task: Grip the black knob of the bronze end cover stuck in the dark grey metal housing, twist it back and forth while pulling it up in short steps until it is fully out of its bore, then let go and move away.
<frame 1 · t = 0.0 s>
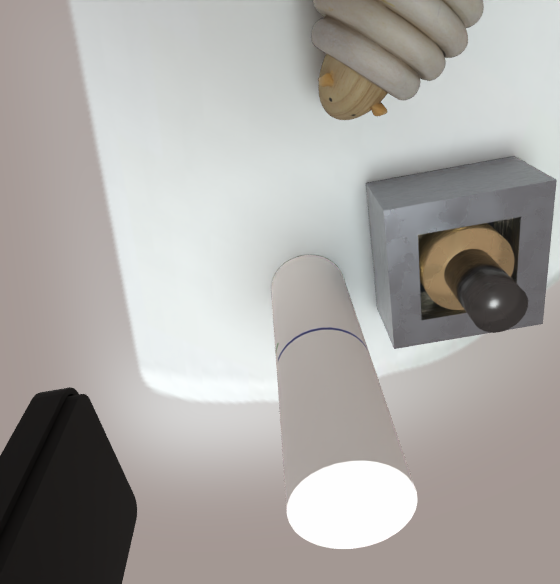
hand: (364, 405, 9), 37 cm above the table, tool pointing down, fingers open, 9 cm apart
cylindrical container: (307, 287, 50), on the table
end cover: (468, 271, 42), point 7 cm above the table, slide at 0.0 cm
toy sheep: (382, 3, 38), on the table
housing: (440, 237, 48), on the table
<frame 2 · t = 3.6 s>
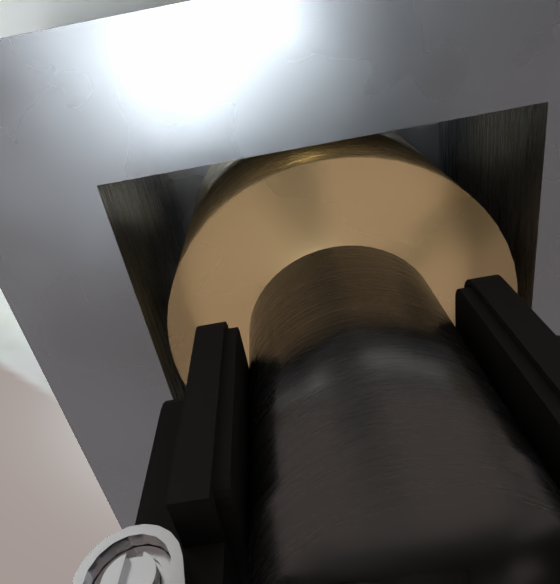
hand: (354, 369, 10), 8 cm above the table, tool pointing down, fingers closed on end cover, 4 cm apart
end cover: (343, 332, 11), point 7 cm above the table, slide at 0.0 cm, touching gripper
housing: (310, 215, 17), on the table
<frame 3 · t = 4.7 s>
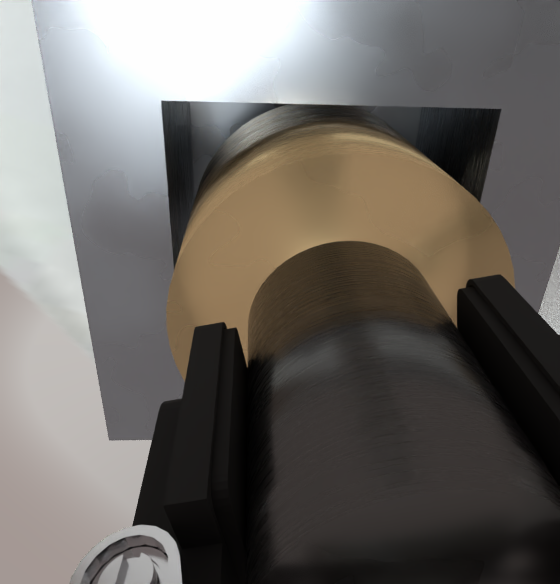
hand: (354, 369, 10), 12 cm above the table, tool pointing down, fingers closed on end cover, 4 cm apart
end cover: (341, 328, 11), point 10 cm above the table, slide at 3.3 cm, touching gripper
housing: (300, 183, 20), on the table
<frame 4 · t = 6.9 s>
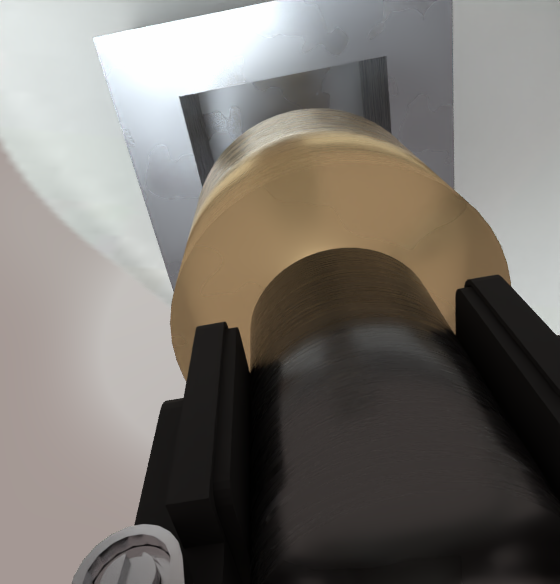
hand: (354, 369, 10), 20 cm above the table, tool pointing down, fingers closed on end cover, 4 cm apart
end cover: (342, 332, 11), point 19 cm above the table, slide at 11.6 cm, touching gripper
housing: (287, 140, 27), on the table
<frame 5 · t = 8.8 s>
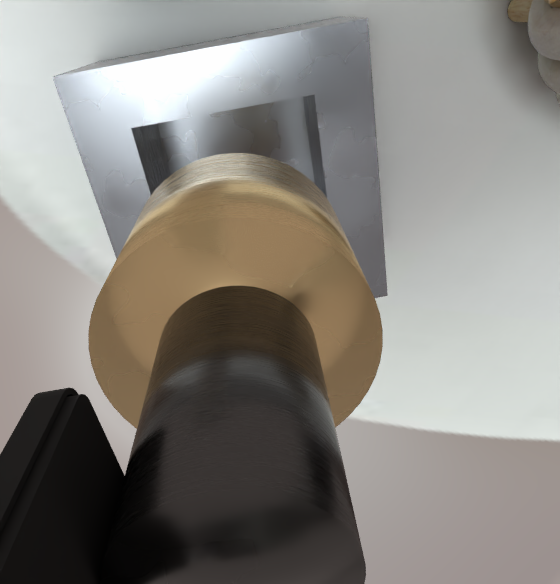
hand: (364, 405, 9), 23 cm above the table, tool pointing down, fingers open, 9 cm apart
end cover: (238, 356, 13), point 19 cm above the table, slide at 12.4 cm, touching gripper
housing: (241, 161, 30), on the table
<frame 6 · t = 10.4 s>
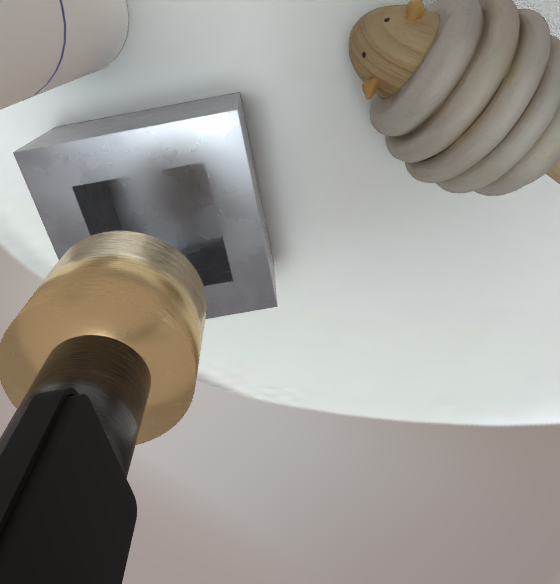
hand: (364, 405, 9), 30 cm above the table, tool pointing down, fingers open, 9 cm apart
cylindrical container: (71, 11, 32), on the table
end cover: (98, 378, 20), point 21 cm above the table, slide at 14.0 cm
toy sheep: (437, 92, 36), on the table
housing: (172, 199, 38), on the table
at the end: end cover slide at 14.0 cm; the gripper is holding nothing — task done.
